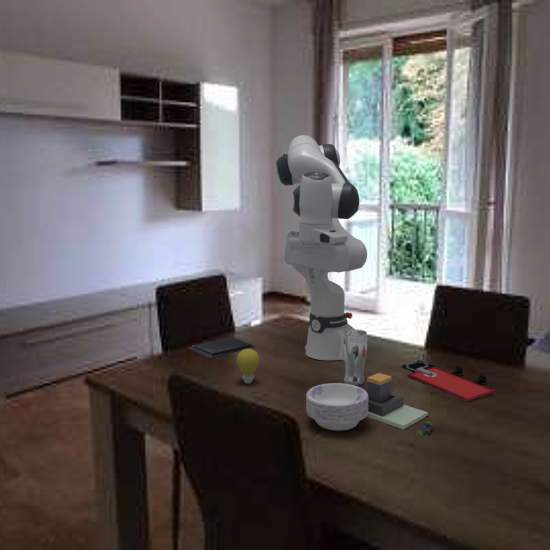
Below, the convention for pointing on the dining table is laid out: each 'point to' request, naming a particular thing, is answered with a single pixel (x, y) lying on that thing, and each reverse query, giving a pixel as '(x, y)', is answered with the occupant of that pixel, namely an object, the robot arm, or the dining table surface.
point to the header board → (395, 412)
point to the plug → (379, 387)
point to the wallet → (220, 347)
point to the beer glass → (354, 355)
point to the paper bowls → (337, 405)
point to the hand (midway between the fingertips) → (314, 284)
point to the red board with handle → (448, 380)
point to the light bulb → (248, 363)
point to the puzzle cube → (426, 428)
